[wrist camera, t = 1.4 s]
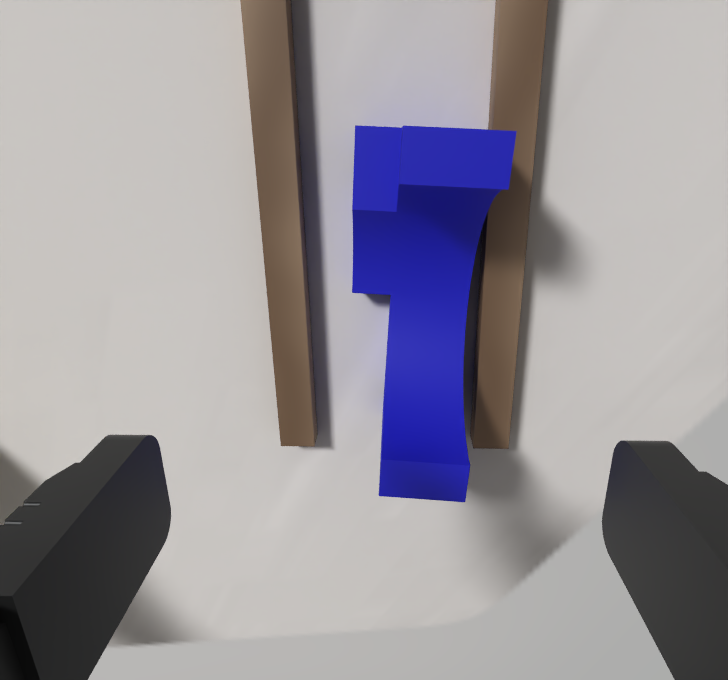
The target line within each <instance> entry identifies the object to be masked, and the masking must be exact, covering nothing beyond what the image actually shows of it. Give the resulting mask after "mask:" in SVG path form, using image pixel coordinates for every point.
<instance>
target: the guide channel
mask: <svg viewBox="0 0 728 680" xmlns="http://www.w3.org/2000/svg"><path fill="white" fill-rule="evenodd" d="M547 8H548V0H496V6H495V23H494V40H493V57H492V74H491V91H490V109H489V126H488V130H505V131H517V132H516V139H515V146H514V154H513V161H512V168H511V175H510V182H509V190H506V189H504V190H501V191H500V192H499V193H498V194H497V195H496V196H495V198H494V199H493V201H492V203H491V205H490V207H489V210H488V212H487V215H486V217H485V220H484V223H483V229H482V246H481V263H480V281H479V298H478V315H477V332H476V349H475V366H474V384H473V401H472V418H471V435H470V436H471V440H472V444H473V448H495V449H508V447H509V436H510V424H511V413H512V402H513V391H514V379H515V368H516V357H517V346H518V334H519V323H520V312H521V301H522V289H523V278H524V267H525V255H526V244H527V233H528V222H529V210H530V199H531V188H532V177H533V165H534V154H535V143H536V132H537V120H538V109H539V98H540V86H541V75H542V64H543V53H544V41H545V30H546V19H547ZM241 11H242V22H243V33H244V44H245V55H246V66H247V77H248V88H249V99H250V110H251V121H252V132H253V143H254V154H255V165H256V176H257V187H258V198H259V209H260V220H261V231H262V242H263V253H264V264H265V275H266V286H267V297H268V308H269V319H270V330H271V341H272V352H273V363H274V374H275V385H276V396H277V407H278V418H279V429H280V440H281V446H315V442H316V438H317V419H316V402H315V386H314V370H313V354H312V337H311V321H310V305H309V289H308V272H307V256H306V240H305V224H304V207H303V191H302V175H301V159H300V142H299V126H298V110H297V94H296V77H295V61H294V45H293V29H292V12H291V0H241Z"/></svg>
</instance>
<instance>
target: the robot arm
mask: <svg viewBox="0 0 728 680" xmlns="http://www.w3.org/2000/svg"><path fill="white" fill-rule="evenodd" d="M170 521H171V507H170V501H169V496H168V490H167V485H166V479H165V474H164V468H163V463H162V457H161V451H160V447H159V443H158V441H157V439H156V438H155V437H154V436H152V435H108V436H106V437H105V438H104V439H103V440H102V441H101V442H100V443H99V444H98V445H97V446H96V447H95V448H94V449H93V450H92V451H91V452H90V453H89V454H88V455H87V456H86V457H85V458H84V459H83V460H82V461H81V462H80V463H74V464H73V465H71V466H69V467H68V468H66V469H64V470H63V471H61V472H59V473H57V474H56V475H54V476H52V477H51V478H49V479H47V480H46V481H45V482H44V483H43V484H42V485H41V486H40V487H39V488H37V489H36V490H35V491H34V492H33V493H32V494H31V495H30V496H29V497H28V498H27V499H26V500H25V501H24V505H23V507H18V508H17V509H16V510H15V511H14V512H13V513H12V514H11V515H10V516H9V517H8V518H7V519H6V520H5V524H4V525H0V680H88V678H89V676H90V674H91V673H92V671H93V669H94V667H95V665H96V664H97V662H98V660H99V659H100V657H101V655H102V653H103V651H104V650H105V648H106V646H107V644H108V643H109V641H110V639H111V637H112V636H113V634H114V632H115V630H116V628H117V627H118V625H119V623H120V621H121V620H122V618H123V616H124V614H125V613H126V611H127V609H128V607H129V605H130V604H131V602H132V600H133V598H134V597H135V595H136V593H137V591H138V590H139V588H140V586H141V584H142V582H143V581H144V579H145V577H146V575H147V574H148V572H149V570H150V568H151V567H152V565H153V563H154V561H155V559H156V558H157V556H158V554H159V552H160V551H161V549H162V547H163V545H164V543H165V541H166V539H167V536H168V532H169V528H170ZM602 528H603V537H604V541H605V545H606V548H607V551H608V554H609V556H610V558H611V560H612V561H613V563H614V565H615V567H616V569H617V571H618V573H619V575H620V577H621V578H622V580H623V582H624V584H625V586H626V588H627V590H628V592H629V594H630V595H631V597H632V599H633V601H634V603H635V605H636V607H637V609H638V611H639V613H640V614H641V616H642V618H643V620H644V622H645V624H646V626H647V628H648V630H649V632H650V633H651V635H652V637H653V639H654V641H655V643H656V645H657V647H658V649H659V650H660V652H661V654H662V656H663V658H664V660H665V662H666V664H667V666H668V668H669V669H670V672H671V673H672V675H673V677H674V679H675V680H728V485H727V484H725V483H724V482H722V481H720V480H719V479H717V478H716V477H714V476H712V475H711V474H709V473H707V472H699V471H698V470H697V469H696V468H695V467H694V466H693V465H692V464H691V463H690V462H689V461H688V459H687V458H685V456H684V455H683V454H682V453H681V452H680V451H679V450H678V449H677V448H676V447H675V446H674V445H673V444H672V443H670V442H668V441H620V442H618V444H617V445H616V447H615V449H614V453H613V458H612V463H611V469H610V475H609V481H608V487H607V492H606V498H605V504H604V510H603V517H602Z"/></svg>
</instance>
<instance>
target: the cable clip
mask: <svg viewBox="0 0 728 680" xmlns="http://www.w3.org/2000/svg"><path fill="white" fill-rule="evenodd" d="M516 132H517V131H505V130H483V129H462V128H441V127H419V126H403V127H402V128H396V127H375V126H355V152H354V180H353V208H352V211H353V286H352V293H366V294H383V295H390V310H389V325H388V341H387V356H386V372H385V387H384V402H383V419H382V441H381V462H380V484H379V496H387V497H401V498H415V499H429V500H443V501H456V502H465V499H466V492H467V485H468V477H469V470H470V463H469V458H468V451H467V444H466V436H465V424H464V404H463V365H464V343H465V328H466V317H467V307H468V299H469V291H470V284H471V277H472V271H473V265H474V260H475V255H476V250H477V246H478V242H479V237H480V234H481V230H482V227H483V223H484V220H485V217H486V215H487V212H488V210H489V207H490V205H491V203H492V201H493V199H494V198H495V196H496V195H497V194H498V193H499V192H500V191H501V190H504V189H506V190H509V182H510V175H511V168H512V161H513V154H514V146H515V139H516Z"/></svg>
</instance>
